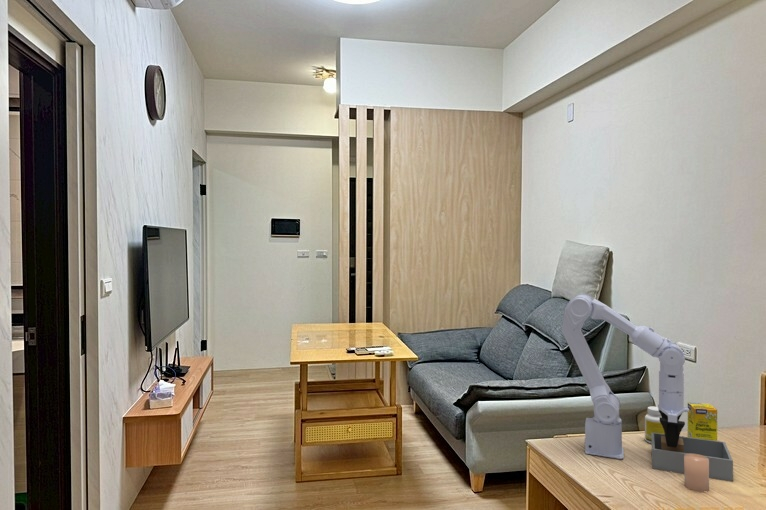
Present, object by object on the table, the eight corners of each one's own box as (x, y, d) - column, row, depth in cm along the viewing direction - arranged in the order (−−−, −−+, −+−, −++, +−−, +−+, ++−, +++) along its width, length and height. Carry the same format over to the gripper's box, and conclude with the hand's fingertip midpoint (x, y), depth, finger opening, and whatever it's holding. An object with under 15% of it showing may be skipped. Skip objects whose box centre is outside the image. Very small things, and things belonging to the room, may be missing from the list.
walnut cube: (661, 461, 134) (661, 442, 134) (661, 454, 139) (661, 435, 139) (683, 464, 132) (683, 445, 132) (682, 457, 136) (682, 438, 136)
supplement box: (694, 446, 146) (694, 408, 145) (687, 439, 151) (686, 402, 151) (718, 448, 144) (717, 409, 144) (709, 440, 150) (709, 403, 150)
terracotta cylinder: (685, 489, 120) (684, 459, 120) (683, 480, 125) (683, 452, 125) (710, 493, 118) (710, 463, 118) (707, 484, 123) (707, 455, 122)
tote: (652, 468, 132) (652, 449, 132) (651, 450, 143) (651, 432, 143) (733, 481, 124) (732, 460, 124) (725, 460, 136) (724, 441, 136)
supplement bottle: (668, 446, 146) (668, 411, 146) (648, 444, 147) (647, 410, 147) (662, 439, 152) (662, 405, 152) (642, 437, 153) (642, 405, 153)
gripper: (691, 399, 127) (691, 454, 127) (686, 385, 140) (686, 434, 140) (658, 395, 130) (658, 449, 130) (657, 382, 143) (657, 430, 143)
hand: (671, 441), depth 135 cm, fingers open, 7 cm apart
